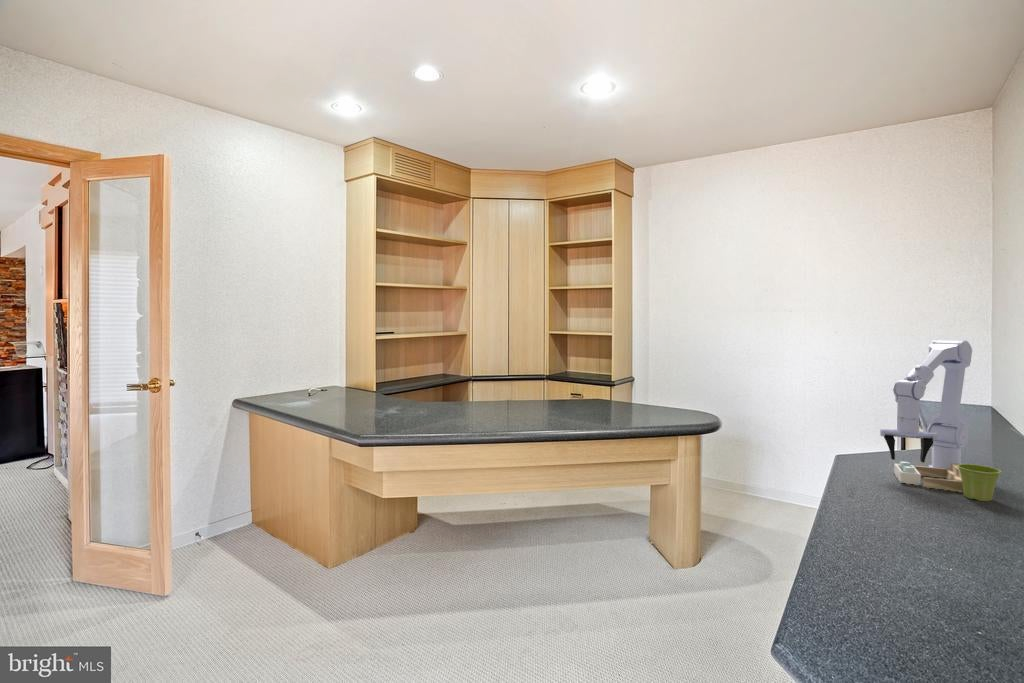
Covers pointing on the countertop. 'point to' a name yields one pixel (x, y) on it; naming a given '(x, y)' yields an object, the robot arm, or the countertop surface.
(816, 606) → the countertop surface
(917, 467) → the light wooden angled piece
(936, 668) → the countertop surface
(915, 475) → the white box
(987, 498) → the plant pot
